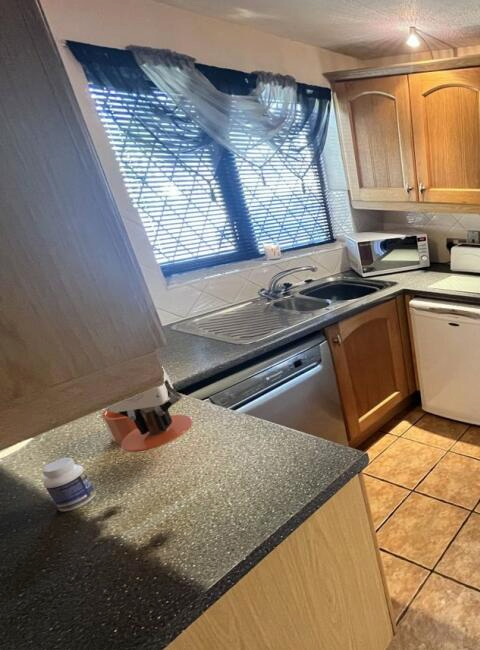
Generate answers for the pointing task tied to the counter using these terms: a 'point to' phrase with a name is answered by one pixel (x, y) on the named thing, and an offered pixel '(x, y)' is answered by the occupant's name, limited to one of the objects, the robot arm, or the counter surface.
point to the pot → (118, 425)
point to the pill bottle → (67, 484)
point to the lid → (155, 432)
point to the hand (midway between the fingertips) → (156, 428)
